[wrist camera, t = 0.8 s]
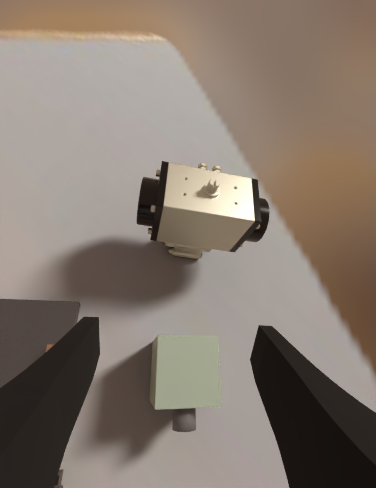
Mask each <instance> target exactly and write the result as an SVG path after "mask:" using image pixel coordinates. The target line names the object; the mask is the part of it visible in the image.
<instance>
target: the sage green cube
mask: <svg viewBox="0 0 376 488" xmlns="http://www.w3.org/2000/svg"><path fill="white" fill-rule="evenodd" d="M149 400H150V402H151V404H152V405H153V407H154V409H155V410H158V409H173V430H174V431H177V432H190V431H194V430H196V411H195V408H209V407H222V399H221V381H220V364H219V346H218V336H177V335H158V336H157V337H156V338H155V339H154V341H153V342H152V361H151V380H150V399H149Z"/></svg>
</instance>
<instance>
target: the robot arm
mask: <svg viewBox="0 0 376 488" xmlns="http://www.w3.org/2000/svg"><path fill="white" fill-rule="evenodd" d="M99 355H100V343H99V317H83V318H82V319H81V320H80V321H79V322H78V323H77V324H76V325H75V326H74V327H73V328H72V329H71V330H69V331H68V332H67V333H66V334H65V335H64V336H63V337H62V338H61V339H60V340H59V341H58V342H57V343H55V344H54V345H53V346H52V347H51V348H50V349H49V350H48V351H47V352H45V353H44V354H43V355H42V356H41V357H39V358H38V359H37V360H36V361H35V362H33V363H32V364H31V365H30V366H29V367H27V368H26V369H25V370H24V371H22V372H21V373H20V374H18V375H17V376H16V377H15V378H13V379H12V380H11V381H9V382H8V383H6V384H5V385H4V386H2V387H1V388H0V488H54V485H55V482H56V478H57V475H58V472H59V469H60V465H61V462H62V459H63V456H64V452H65V449H66V446H67V443H68V441H69V438H70V435H71V432H72V430H73V427H74V425H75V422H76V420H77V417H78V415H79V412H80V410H81V407H82V405H83V402H84V400H85V397H86V395H87V392H88V390H89V387H90V385H91V382H92V380H93V377H94V373H95V370H96V366H97V363H98V359H99ZM250 361H251V365H252V370H253V374H254V378H255V382H256V385H257V388H258V391H259V394H260V396H261V399H262V402H263V405H264V407H265V410H266V413H267V416H268V418H269V421H270V424H271V427H272V429H273V432H274V435H275V438H276V441H277V444H278V447H279V450H280V454H281V457H282V461H283V465H284V468H285V472H286V476H287V479H288V483H289V487H290V488H376V413H375V412H374V411H372V410H371V409H369V408H368V407H366V406H365V405H363V404H362V403H361V402H359V401H358V400H357V399H355V398H354V397H353V396H351V395H350V394H349V393H347V392H346V391H345V390H343V389H342V388H341V387H339V386H338V385H337V384H336V383H334V382H333V381H332V380H331V379H329V378H328V377H327V376H326V375H325V374H324V373H322V372H321V371H320V370H319V369H318V368H316V367H315V366H314V365H313V364H312V363H311V362H310V361H309V360H307V359H306V358H305V357H304V356H303V355H302V354H301V353H300V352H299V351H298V350H297V349H296V348H295V347H294V346H292V345H291V344H290V343H289V342H288V341H287V340H286V339H285V338H284V337H283V336H282V335H281V334H280V333H279V332H278V331H277V330H276V329H274V328H273V327H272V326H260V325H259V327H258V331H257V335H256V339H255V342H254V346H253V350H252V354H251V358H250Z"/></svg>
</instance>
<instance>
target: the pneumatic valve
mask: <svg viewBox="0 0 376 488" xmlns="http://www.w3.org/2000/svg"><path fill="white" fill-rule="evenodd" d="M156 176H158V177H159V179H153V178H147V177H143V179H142V184H141V189H140V195H139V202H138V211H137V224H139V225H145V226H152V228H148V234H151V240H153V241H160V242H165V246H171V247H173V249H170V250H169V252H170V254H172V256H179V257H186V258H193V259H199V258H201V257H202V251H206V252H209V251H210V250H211V249H216V250H223V251H230V252H235V251H236V250H237V249H238V248H239V247H242V244H243V242H244V241H251V242H257V241H259V240H260V239H261V238H262V237H263V235H264V233H265V231H266V229H267V225H268V221H269V205H268V202H267V201H266V200H265V199H263V198H259V190H258V180H257V179H251V178H246V177H241V176H236V175H231V174H226V173H221V167H220V166H214V167H213V168H212V171H210V170H207V165H206V164H205V163H200V164H199V165H198V168H195V167H190V166H184V165H179V164H174V163H169V162H164V161H162V165H161V171H160V170H157V171H156ZM151 232H152V233H151Z"/></svg>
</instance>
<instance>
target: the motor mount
mask: <svg viewBox="0 0 376 488" xmlns="http://www.w3.org/2000/svg"><path fill="white" fill-rule="evenodd" d="M79 308H80V303H79V302H68V301H42V300H16V299H0V388H1V387H2V386H4V385H5V384H6V383H8V382H9V381H11V380H12V379H13V378H15V377H16V376H17V375H18V374H20V373H21V372H22V371H24V370H25V369H26V368H27V367H29V366H30V365H31V364H32V363H33V362H35V361H36V360H37V359H38V358H39V357H41V356H42V355H43V354H44V353H45V352H47V351H48V350H49V349H50V348H51V347H52V346H53V345H54V344H55V343H57V342H58V341H59V340H60V339H61V338H62V337H63V336H64V335H65V334H66V333H67V332H68V331H69V330H71V329H72V328H73V327H74V326H75V325H76V324H77V319H78V313H79ZM62 474H63V470H59V472H58V475H57V478H56V482H55V485H54V488H63V486H62V485H61V480H62Z"/></svg>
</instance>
